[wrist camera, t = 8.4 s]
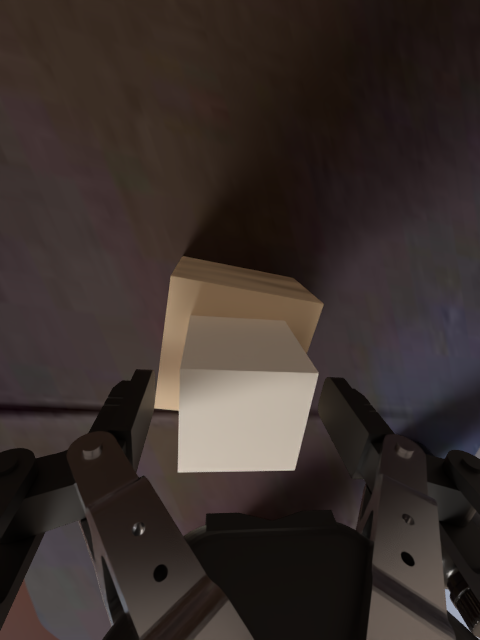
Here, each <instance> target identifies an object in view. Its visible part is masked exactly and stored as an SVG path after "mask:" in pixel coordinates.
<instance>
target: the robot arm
mask: <svg viewBox="0 0 480 640" xmlns="http://www.w3.org/2000/svg"><path fill="white" fill-rule="evenodd" d="M154 404H155V373H154V370H140V369H136V371H135V373H134V375H133V377H132V379H131V381H121V382H120V383H118V384H117V385H116V386H115V387H113V389H112V390H111V392H110V394H109V396H108V398H107V400H106V401H105V403H104V406H103V407H102V409H101V411H100V412H99V414H98V416H97V418H96V420H95V422H94V423H93V425H92V427H91V429H90V431H89V433H88V434H85V435H83V436H81V437H79V438H78V439H77V440H75V441H74V442H73V443H72V444H71V445H70V447H69V449H68V450H66V451H63V452H60V453H56V454H52V455H48V456H44V457H40V458H35V456H34V453H33V452H32V451H30V450H28V449H24V448H16V449H10V450H7V451H3V452H1V453H0V630H1V628H2V626H3V624H4V621H5V619H6V617H7V615H8V613H9V610H10V608H11V606H12V604H13V602H14V599H15V597H16V595H17V593H18V591H19V588H20V586H21V584H22V582H23V580H24V578H25V575H26V573H27V571H28V569H29V567H30V564H31V562H32V560H33V558H34V556H35V553H36V551H37V549H38V547H39V545H40V542H41V540H42V538H43V536H44V534H45V532H46V531H49V530H52V529H55V528H58V527H60V526H63V525H66V524H69V523H72V522H75V521H79V524H80V527H81V530H82V533H83V536H84V539H85V542H86V545H87V548H88V551H89V554H90V557H91V560H92V562H93V565H94V568H95V572H96V575H97V579H98V583H99V587H100V591H101V594H102V598H103V601H104V604H105V607H106V610H107V613H108V616H109V619H110V622H111V625H112V627H111V628H110V630H109V631H108V632H107V634H106V635H105V637H104V638H103V639H102V640H479V639H478V638H477V637H476V636H475V635H474V634H473V633H471V632H470V631H469V630H468V629H467V628H466V627H465V626H464V625H463V624H461V623H460V622H459V621H458V620H457V619H456V618H455V617H454V616H452V615H451V614H450V613H449V612H448V611H447V610H446V598H445V587H444V576H443V565H442V553H441V543H442V545H443V546H444V548H445V549H446V551H447V552H448V554H449V556H450V557H451V559H452V560H453V562H454V563H455V565H456V566H457V568H458V570H459V571H460V573H461V574H462V576H463V577H464V579H465V581H466V582H467V584H468V585H469V587H470V588H471V590H472V591H473V593H474V595H475V596H476V598H477V599H478V601H479V602H480V530H479V528H478V527H477V526H476V525H475V523H474V522H473V521H472V520H471V519H472V517H473V516H474V514H475V513H476V511H477V512H478V514H479V515H480V459H479V458H477V457H475V456H473V455H471V454H469V453H467V452H464V451H460V450H451V451H449V452H448V454H447V456H446V458H445V459H442V458H439V457H435V456H431V455H427V454H425V453H424V452H423V450H422V449H421V448H420V447H419V446H418V445H417V444H416V443H415V442H413V441H412V440H410V439H408V438H406V437H404V436H401V435H397V434H394V432H393V431H392V430H391V429H390V427H389V426H388V425H387V424H386V422H385V421H384V420H383V419H382V417H381V416H380V415H379V414H378V413H377V412H376V410H375V409H374V408H373V406H372V405H370V403H369V401H368V400H367V399H366V398H365V396H364V395H362V394H361V393H359V392H358V391H357V390H355V389H352V388H351V386H350V385H349V384H348V383H347V381H346V380H345V379H344V378H335V377H327V378H326V379H325V381H324V385H323V389H322V392H321V396H320V400H319V404H318V412H319V416H320V418H321V420H322V422H323V424H324V426H325V428H326V430H327V432H328V433H329V435H330V437H331V439H332V441H333V443H334V445H335V447H336V449H337V451H338V453H339V455H340V457H341V459H342V461H343V462H344V464H345V466H346V468H347V470H348V472H349V474H350V476H351V478H352V479H364V480H365V482H366V484H365V487H364V490H363V495H362V501H361V506H360V511H359V516H358V522H357V527H356V530H354V529H352V528H350V527H348V526H346V525H344V524H341V523H338V522H336V521H335V518H334V516H333V513H332V511H331V510H315V511H300V512H297V513H294V514H292V515H289V516H286V517H283V518H280V519H277V520H273V521H271V520H266V519H262V518H258V517H254V516H250V515H246V514H242V513H214V514H206V524H205V526H202V527H199V528H197V529H195V530H193V531H191V532H189V533H188V534H186V535H185V536H183V535H182V534H181V532H180V530H179V529H178V527H177V526H176V524H175V522H174V521H173V519H172V517H171V516H170V514H169V513H168V511H167V509H166V508H165V506H164V505H163V503H162V501H161V500H160V498H159V496H158V495H157V493H156V492H155V490H154V488H153V487H152V485H151V484H150V482H149V480H148V479H147V478H146V477H145V476H142V477H140V478H139V477H138V476H137V474H136V472H137V468H138V464H139V461H140V457H141V454H142V450H143V447H144V443H145V440H146V436H147V433H148V429H149V426H150V422H151V419H152V415H153V411H154ZM440 541H441V542H440Z"/></svg>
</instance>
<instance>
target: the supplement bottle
mask: <svg viewBox="0 0 480 640" xmlns="http://www.w3.org/2000/svg"><path fill="white" fill-rule="evenodd" d="M413 442H415V441H413ZM415 443H416V444H417V445H418V446H419V447H420V448H421V449H422V450H423V452H424V453H425V454H427V455H431V456H434V455H433V454H432V453H431V451H430V450H429V449H428V448H427V447H425V446H424V445H422V444H420V443H418V442H415ZM471 520H472V521H473V522H474V523H475V525H476V526H477V527H478V528H479V530H480V515H479V514H478V512H477V511H476V513H475V514H474V516H473V517H472V519H471ZM440 542H441V541H440ZM441 553H442V565H443V576H444V587H445V589H448V590H449V591H450V599H451V601H452V603H453V604H454V606H455V608H457V610H458V611H459V613H460V614H461V616H462V618H463V619H464V621H465V623H466V624H467V626H468V628H469V630H470V631H471V632H472V633H473V634H474V635H475V636H477V637H479V638H480V602H479V601H478V599H477V598H476V596H475V595H474V593H473V591H472V590H471V588H470V587H469V585H468V584H467V582H466V581H465V579H464V577H463V576H462V574H461V573H460V571H459V570H458V568H457V566H456V565H455V563H454V562H453V560H452V559H451V557H450V556H449V554H448V552H447V551H446V549H445V548H444V546H443V545H442V543H441Z"/></svg>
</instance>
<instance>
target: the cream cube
mask: <svg viewBox="0 0 480 640" xmlns="http://www.w3.org/2000/svg"><path fill="white" fill-rule="evenodd" d="M318 374H319V373H318V371H317V370H316V368H315V367H314V365H313V364H312V362H311V361H310V359H309V357H308V356H307V354H306V353H305V351H304V350H303V348H302V347H301V345H300V343H299V342H298V340H297V339H296V337H295V336H294V334H293V333H292V331H291V329H290V328H289V326H288V325H287V323H286V322H285V321H283V320H265V319H248V318H231V317H213V316H196V315H190V319H189V325H188V330H187V335H186V340H185V345H184V350H183V356H182V361H181V366H180V392H179V440H178V472H226V471H290V470H295V467H296V463H297V459H298V455H299V451H300V447H301V443H302V439H303V435H304V431H305V427H306V423H307V419H308V415H309V410H310V406H311V402H312V398H313V394H314V390H315V386H316V382H317V378H318Z"/></svg>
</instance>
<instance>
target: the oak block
mask: <svg viewBox="0 0 480 640" xmlns="http://www.w3.org/2000/svg"><path fill="white" fill-rule="evenodd" d="M323 305H324V304H323V303H322V302H321V301H320V300H319V299H317V298H316V297H315V296H314V295H313V294H312V293H310V292H309V291H308V290H307V289H306V288H305V287H303V286H302V285H301V284H300V283H299V282H297V281H296V280H295V279H294V278H291V277H286V276H281V275H276V274H271V273H266V272H261V271H256V270H251V269H246V268H241V267H236V266H231V265H226V264H221V263H216V262H211V261H206V260H200V259H195V258H190V257H185V256H182V258H181V260H180V261H179V263H178V265H177V266H176V268H175V270H174V271H173V273H172V275H171V279H170V287H169V295H168V303H167V311H166V319H165V326H164V334H163V342H162V350H161V358H160V366H159V374H158V382H157V390H156V398H155V406H154V408H159V409H169V410H178V411H179V392H180V366H181V361H182V356H183V350H184V345H185V340H186V335H187V330H188V325H189V319H190V315H196V316H213V317H231V318H248V319H265V320H283V321H285V322H286V323H287V325H288V326H289V328H290V329H291V331H292V333H293V334H294V336H295V337H296V339H297V340H298V342H299V343H300V345H301V347H302V348H303V350H304V351H305V353H306V354H307V351H308V349H309V346H310V343H311V340H312V337H313V334H314V331H315V328H316V325H317V322H318V320H319V317H320V314H321V311H322V308H323Z"/></svg>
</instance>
